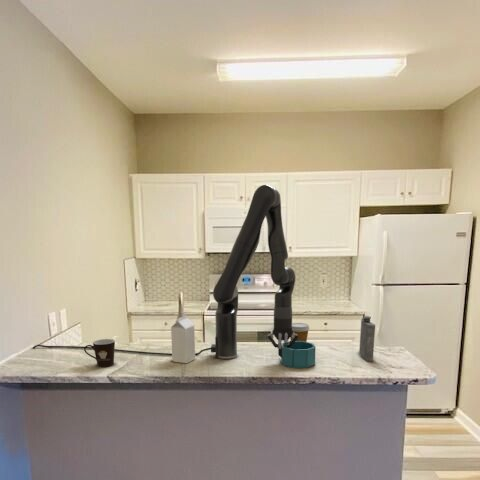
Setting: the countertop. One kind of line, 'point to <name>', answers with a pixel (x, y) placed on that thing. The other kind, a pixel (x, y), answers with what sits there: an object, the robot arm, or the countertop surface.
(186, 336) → the milk carton
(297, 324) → the disposable coffee cup
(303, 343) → the teal octagonal bowl
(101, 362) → the coffee mug
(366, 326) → the flask
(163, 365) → the countertop surface
